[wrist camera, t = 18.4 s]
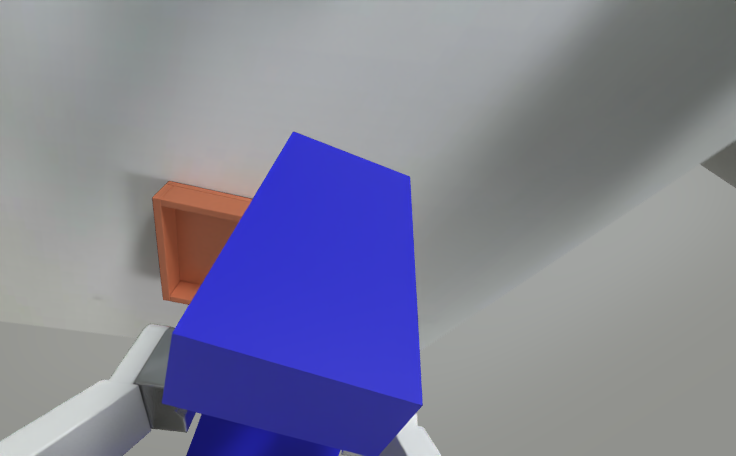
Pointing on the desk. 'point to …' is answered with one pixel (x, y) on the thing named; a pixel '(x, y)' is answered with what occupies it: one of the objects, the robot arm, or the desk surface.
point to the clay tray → (192, 234)
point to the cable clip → (306, 316)
